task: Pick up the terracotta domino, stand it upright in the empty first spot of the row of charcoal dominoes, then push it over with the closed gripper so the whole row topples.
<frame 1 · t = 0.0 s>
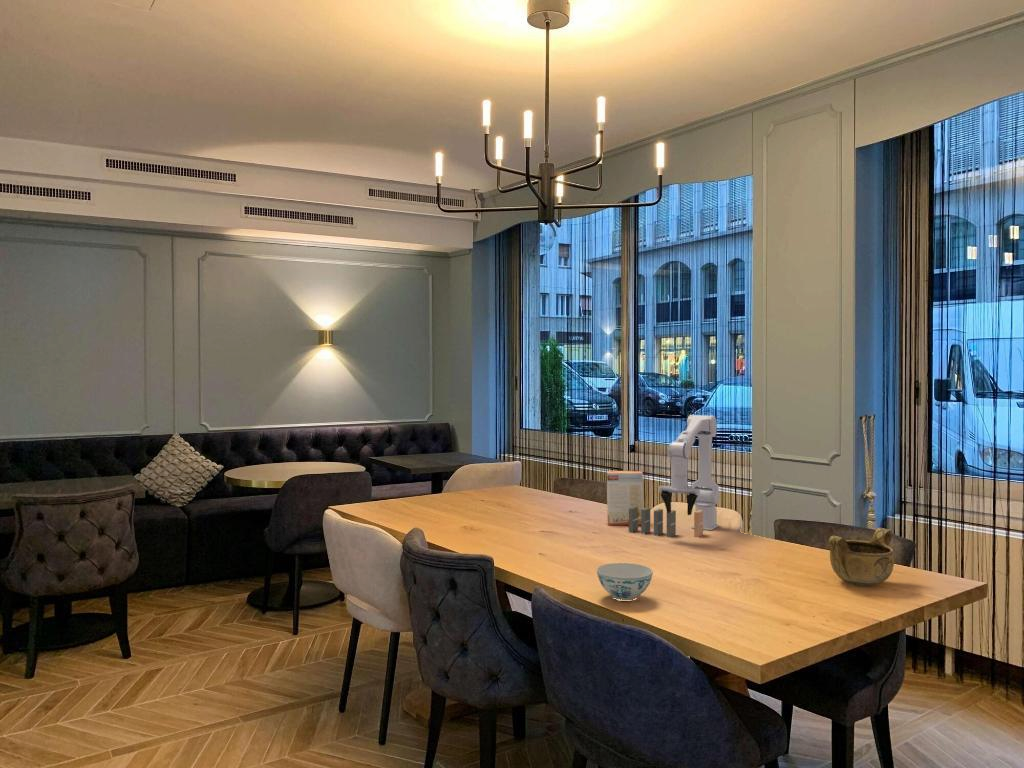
hand: (679, 513, 274), 10 cm above the table, tool pointing down, fingers open, 7 cm apart
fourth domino: (645, 532, 289), on the table
cracker box: (624, 524, 305), on the table
end domino: (633, 531, 292), on the table
ceramic bowl: (861, 584, 221), on the table
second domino: (671, 535, 284), on the table
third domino: (658, 534, 286), on the table
terracotta domino: (698, 535, 284), on the table
chinaware: (624, 599, 208), on the table
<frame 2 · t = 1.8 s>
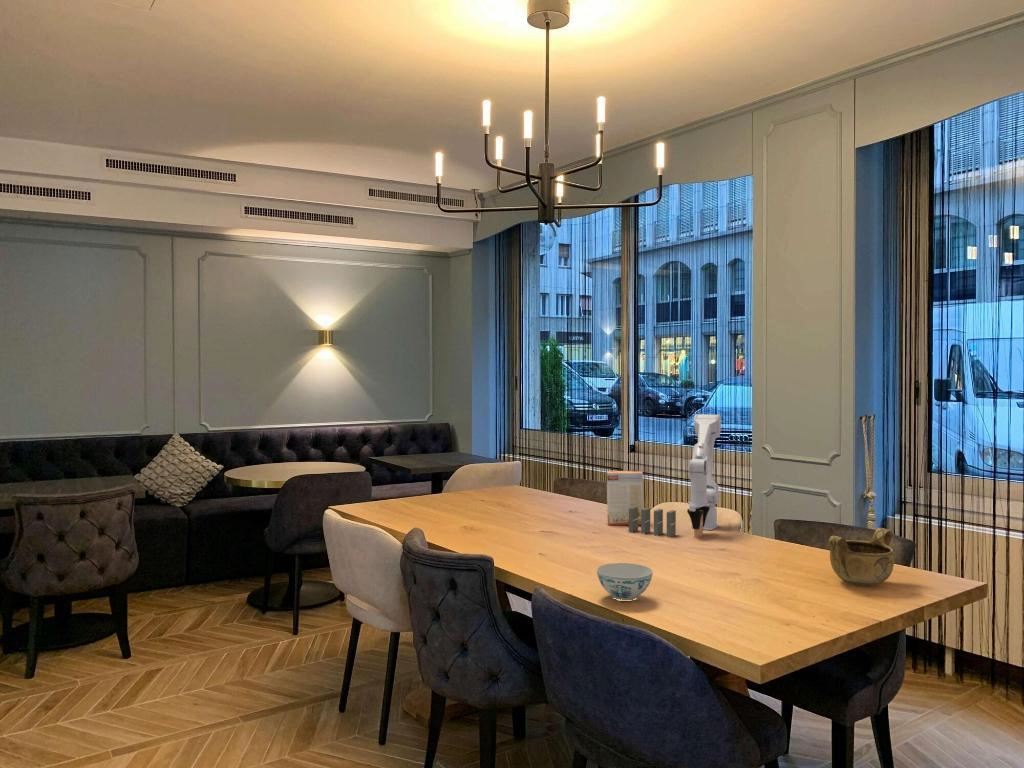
hand: (698, 527, 284), 3 cm above the table, tool pointing down, fingers closed on terracotta domino, 5 cm apart
terracotta domino: (698, 535, 284), on the table, touching gripper
everything else where it was.
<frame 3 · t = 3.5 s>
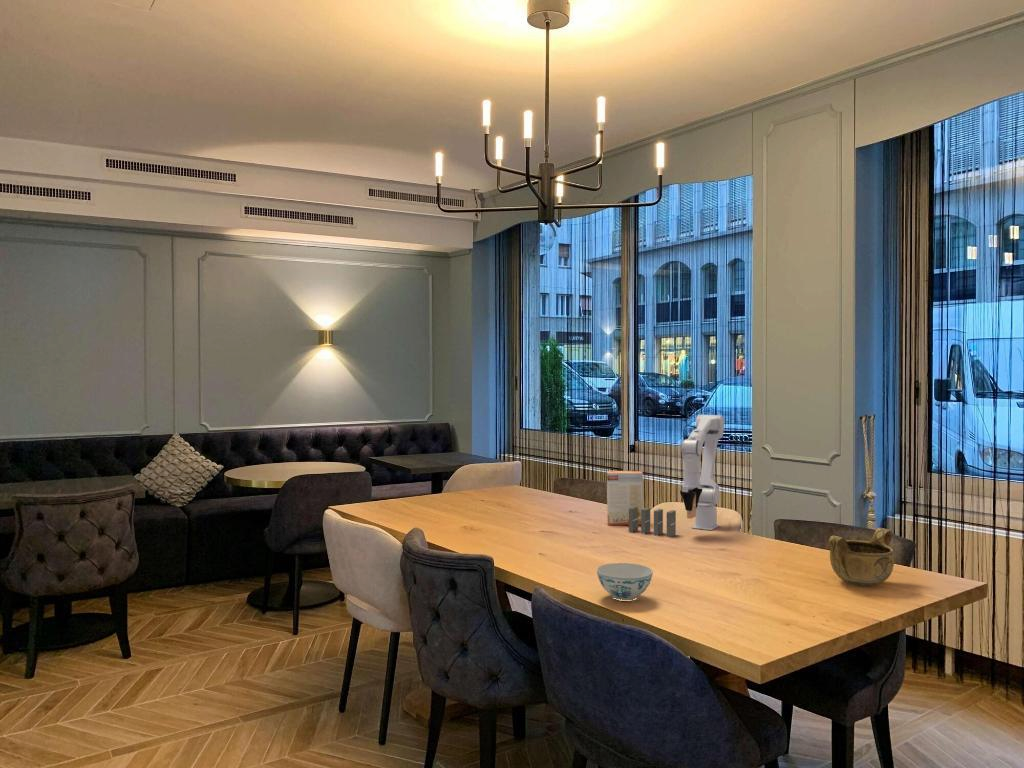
hand: (691, 509, 282), 10 cm above the table, tool pointing down, fingers closed on terracotta domino, 5 cm apart
terracotta domino: (691, 517, 282), point 7 cm above the table, touching gripper
everything else where it was.
when the fingers open (4 cm above the table, at t = 5.3 s): terracotta domino drops 1 cm, on the table.
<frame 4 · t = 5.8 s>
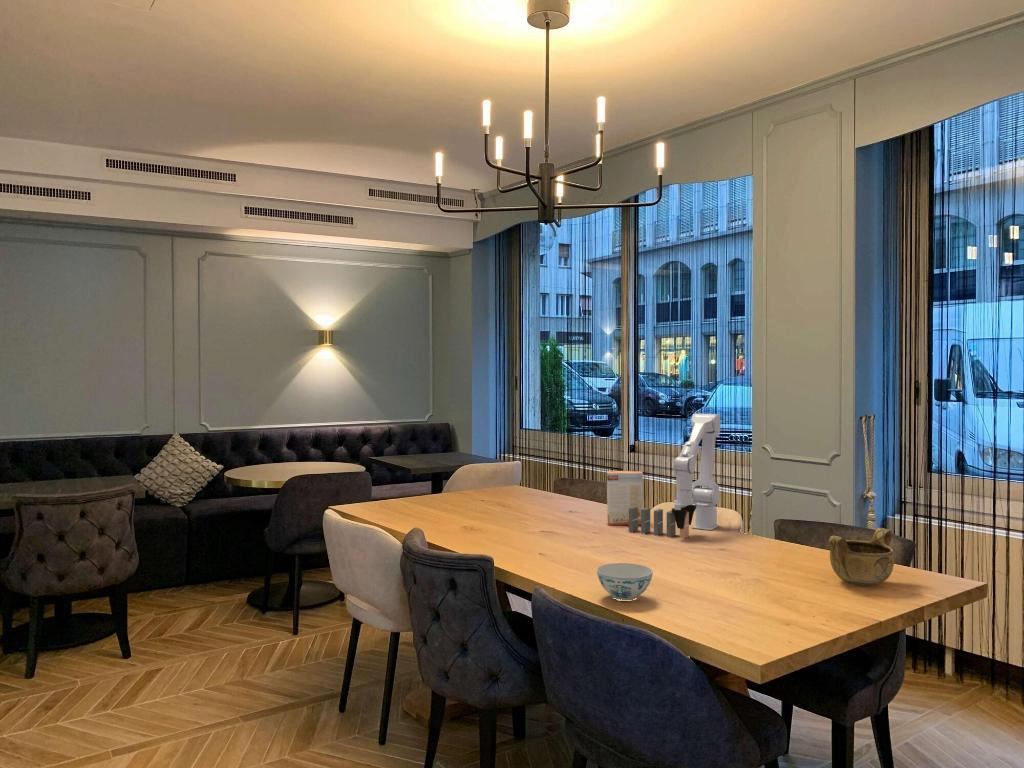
hand: (684, 526, 281), 4 cm above the table, tool pointing down, fingers open, 7 cm apart
terracotta domino: (684, 537, 281), on the table
everything else where it was.
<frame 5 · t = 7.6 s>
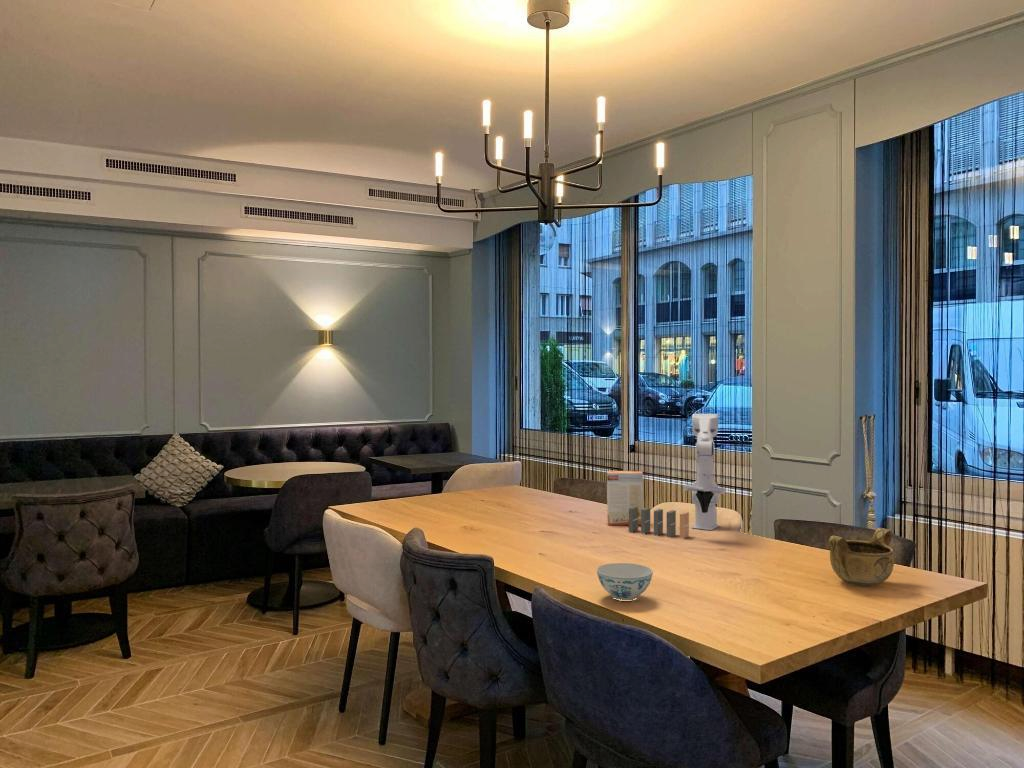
hand: (704, 512, 277), 10 cm above the table, tool pointing down, fingers closed
nothing on the table moved.
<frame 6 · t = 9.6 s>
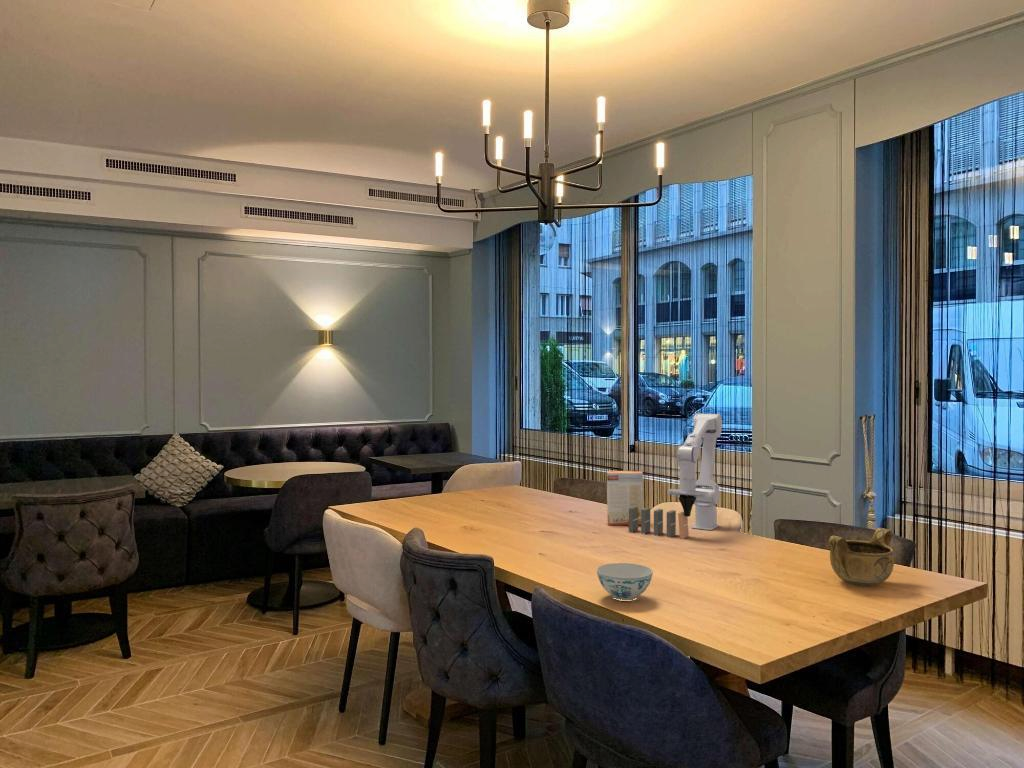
hand: (687, 516, 280), 8 cm above the table, tool pointing down, fingers closed
nothing on the table moved.
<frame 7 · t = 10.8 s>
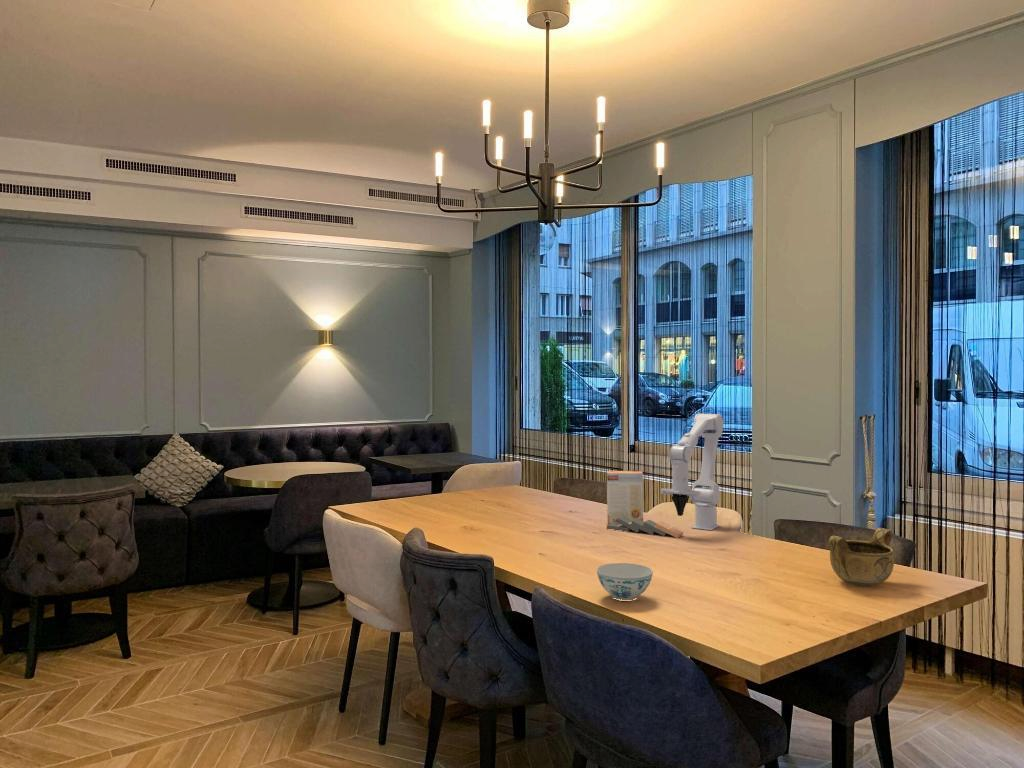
hand: (680, 515, 282), 8 cm above the table, tool pointing down, fingers closed
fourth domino: (641, 529, 290), point 1 cm above the table, tilted 71°, touching end domino, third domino
end domino: (631, 529, 292), point 1 cm above the table, tilted 89°, touching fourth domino
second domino: (667, 533, 285), point 1 cm above the table, tilted 71°, touching terracotta domino, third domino
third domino: (655, 531, 287), point 1 cm above the table, tilted 71°, touching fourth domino, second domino
terracotta domino: (680, 534, 282), point 1 cm above the table, tilted 71°, touching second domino
everything else where it was.
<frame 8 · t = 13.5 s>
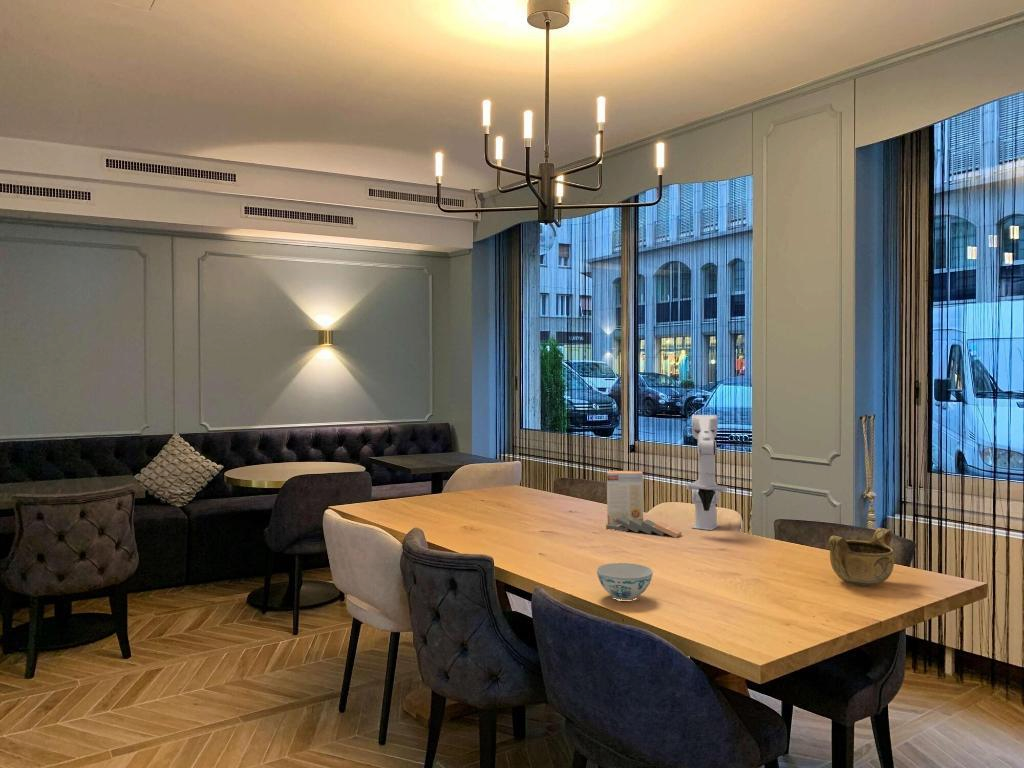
hand: (706, 510, 280), 10 cm above the table, tool pointing down, fingers closed
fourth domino: (640, 530, 290), point 1 cm above the table, tilted 71°, touching end domino, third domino
at the end: end domino tilted 89°; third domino tilted 71°; terracotta domino tilted 71° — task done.
